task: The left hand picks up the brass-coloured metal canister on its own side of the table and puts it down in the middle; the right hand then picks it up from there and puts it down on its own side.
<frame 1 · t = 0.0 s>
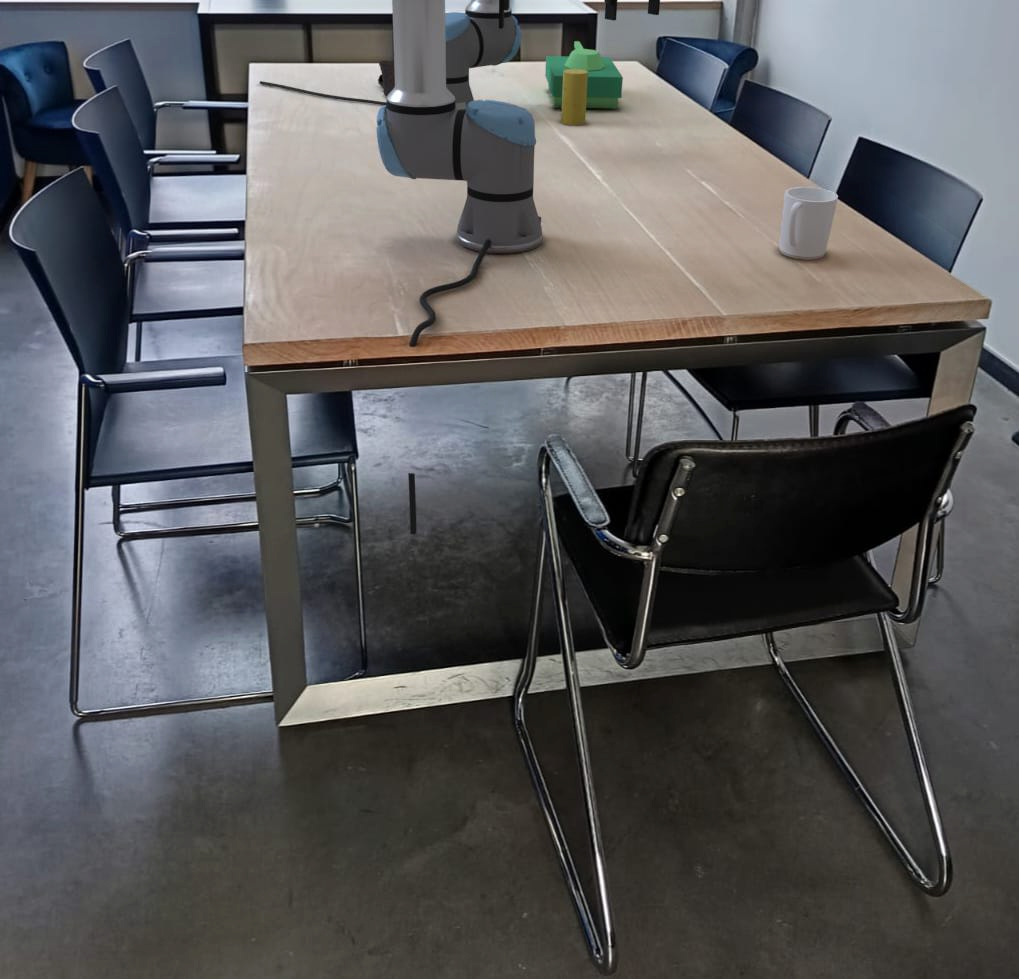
left hand: (632, 17, 239), 28 cm above the table, tool pointing down, fingers open, 13 cm apart
right hand: (468, 26, 224), 28 cm above the table, tool pointing down, fingers open, 13 cm apart
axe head: (403, 91, 300), on the table
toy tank: (579, 97, 299), on the table
mug: (798, 254, 193), on the table
canister: (573, 122, 273), on the table
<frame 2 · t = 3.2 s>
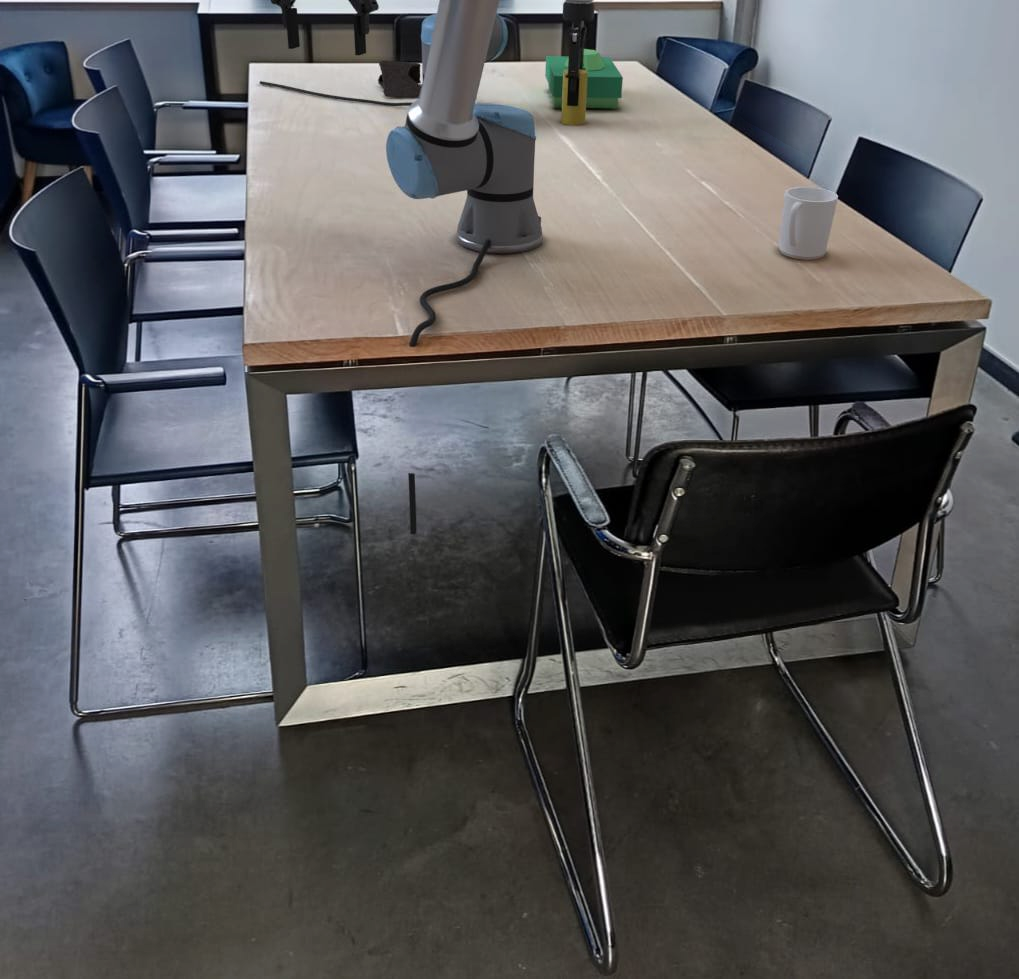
left hand: (574, 102, 271), 5 cm above the table, tool pointing down, fingers closed on canister, 6 cm apart
right hand: (327, 51, 197), 28 cm above the table, tool pointing down, fingers open, 13 cm apart
canister: (573, 122, 273), on the table, touching left hand
everything else where it was.
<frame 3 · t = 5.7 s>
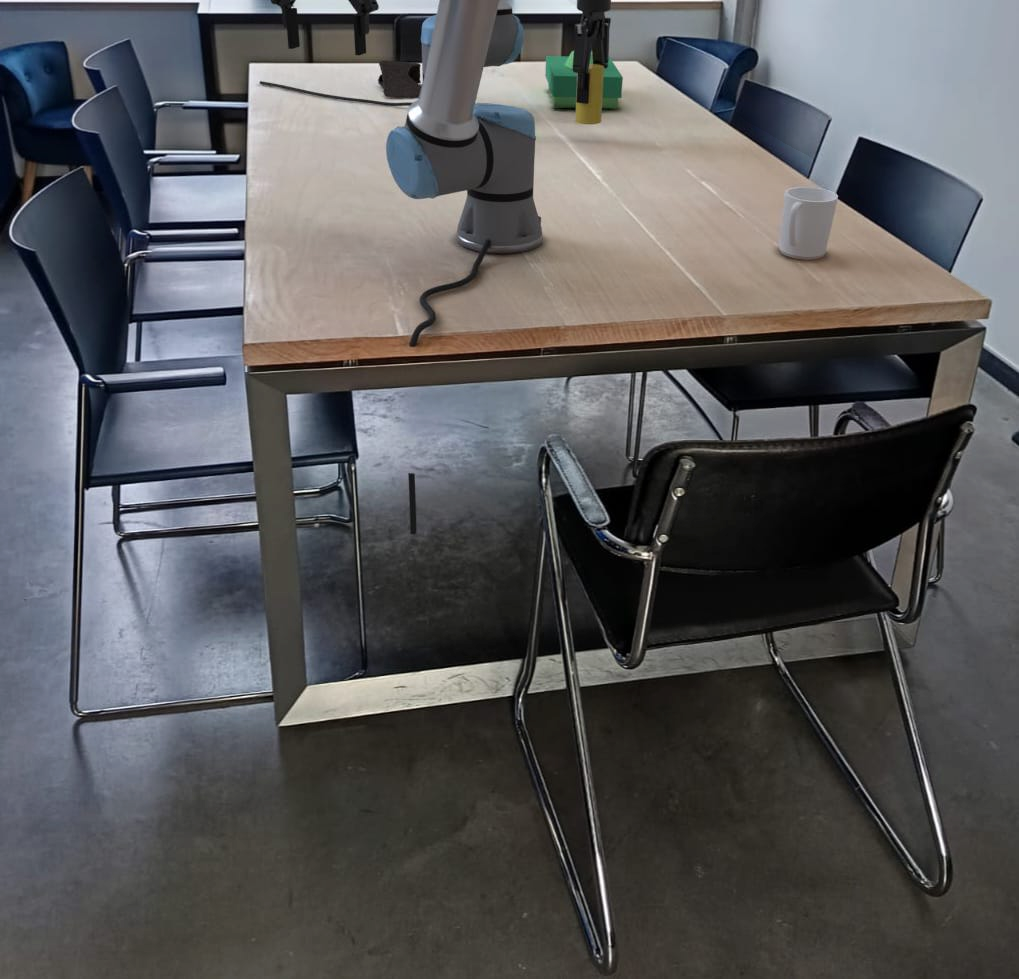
left hand: (589, 100, 252), 9 cm above the table, tool pointing down, fingers closed on canister, 6 cm apart
right hand: (327, 51, 197), 28 cm above the table, tool pointing down, fingers open, 13 cm apart
canister: (588, 121, 255), point 5 cm above the table, touching left hand
everything else where it was.
when the left hand's fingers open (6 cm above the table, at t = 8.0 s): canister drops 1 cm, on the table.
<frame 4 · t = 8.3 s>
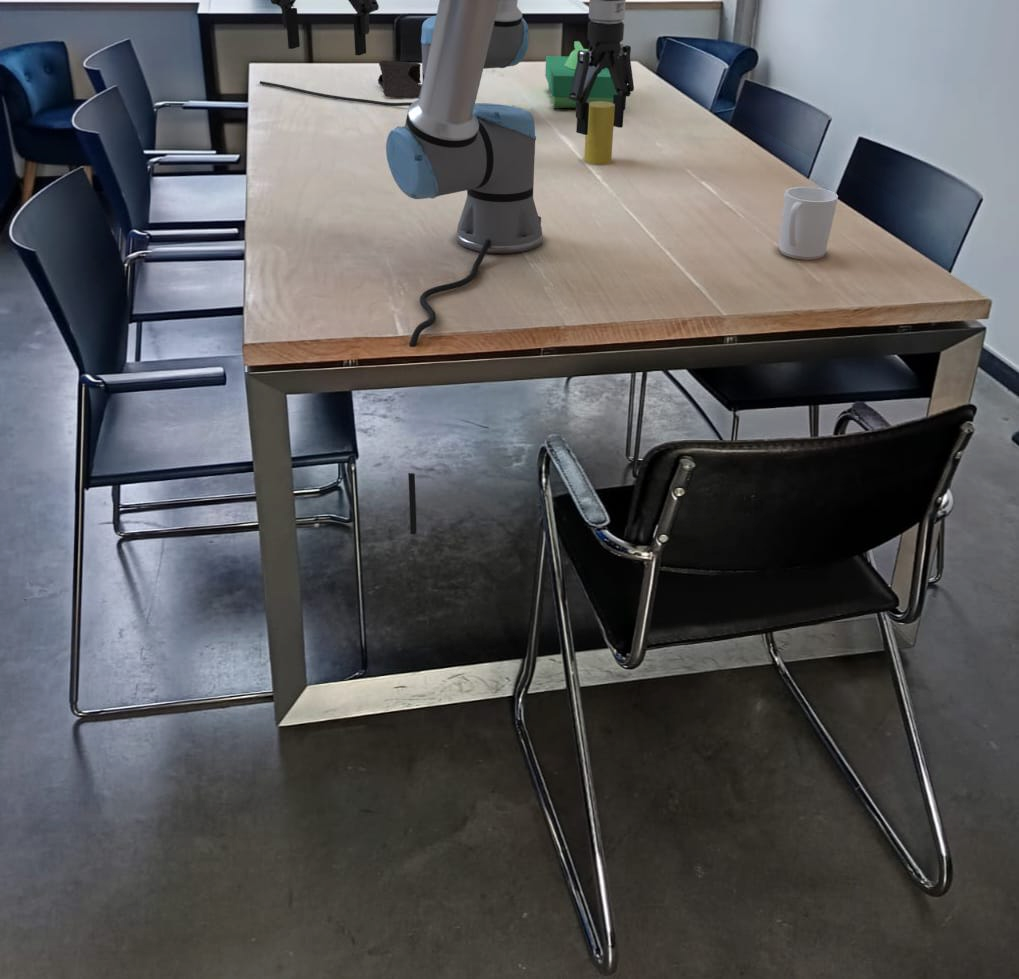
left hand: (599, 129, 239), 7 cm above the table, tool pointing down, fingers open, 10 cm apart
right hand: (327, 51, 197), 28 cm above the table, tool pointing down, fingers open, 13 cm apart
canister: (597, 161, 243), on the table
everything else where it was.
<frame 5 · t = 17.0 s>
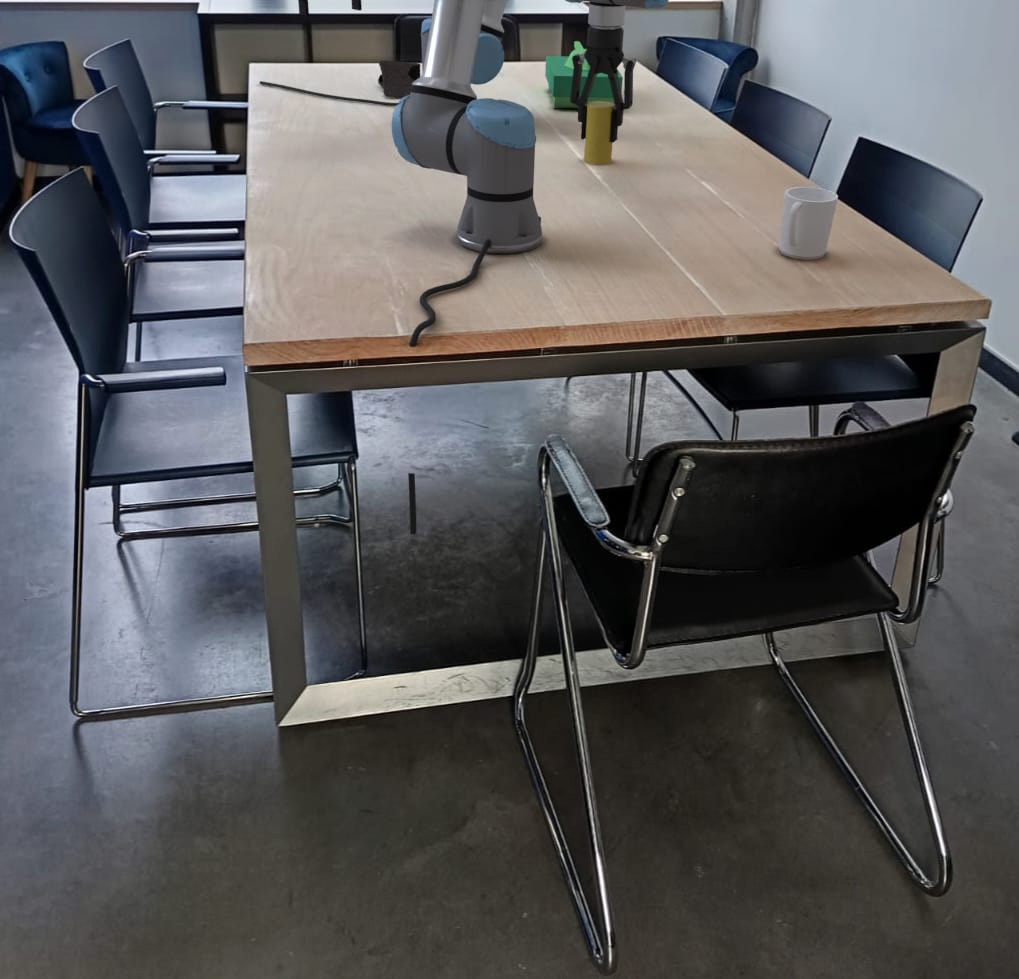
left hand: (330, 12, 239), 28 cm above the table, tool pointing down, fingers open, 13 cm apart
right hand: (598, 139, 240), 5 cm above the table, tool pointing down, fingers closed on canister, 6 cm apart
canister: (597, 160, 243), on the table, touching right hand
everything else where it was.
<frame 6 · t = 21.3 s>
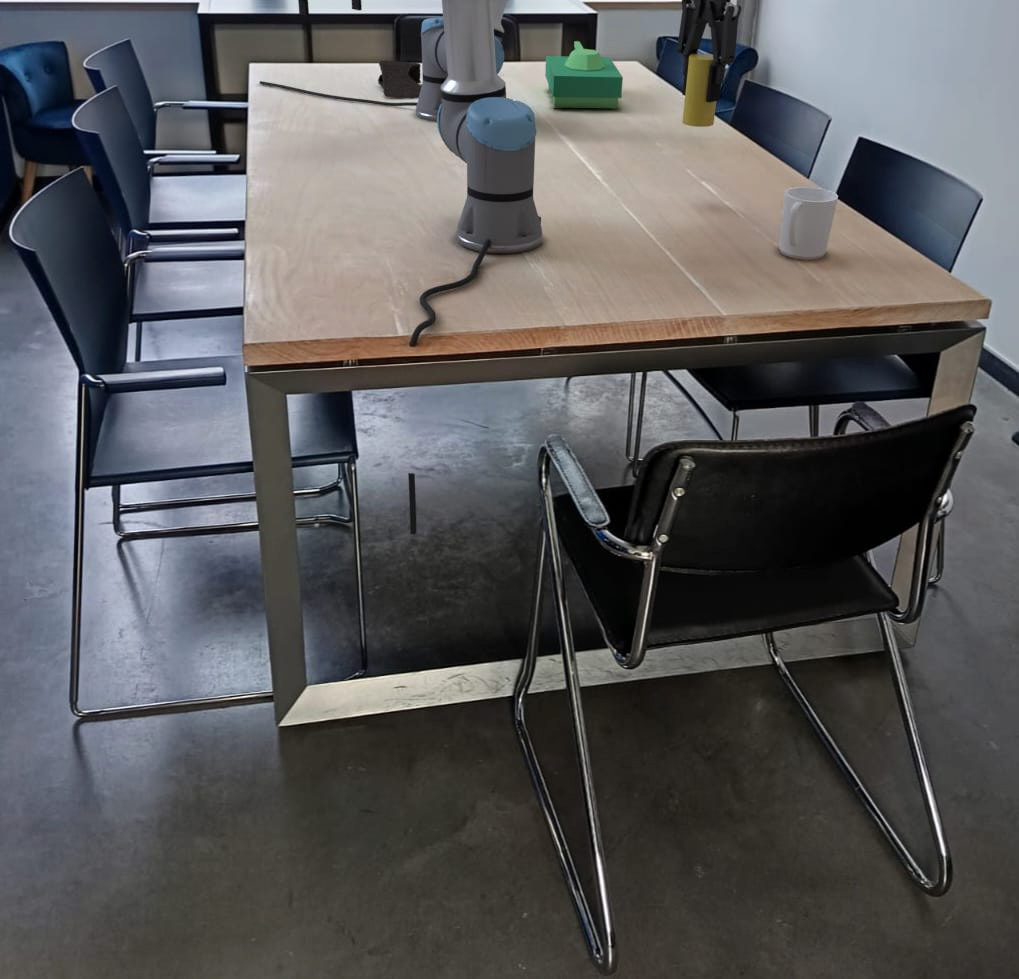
left hand: (330, 12, 239), 28 cm above the table, tool pointing down, fingers open, 13 cm apart
right hand: (700, 97, 210), 20 cm above the table, tool pointing down, fingers closed on canister, 6 cm apart
canister: (697, 123, 212), point 15 cm above the table, touching right hand
everything else where it was.
when the right hand's fingers open (6 cm above the table, at t = 25.7 s): canister drops 1 cm, on the table.
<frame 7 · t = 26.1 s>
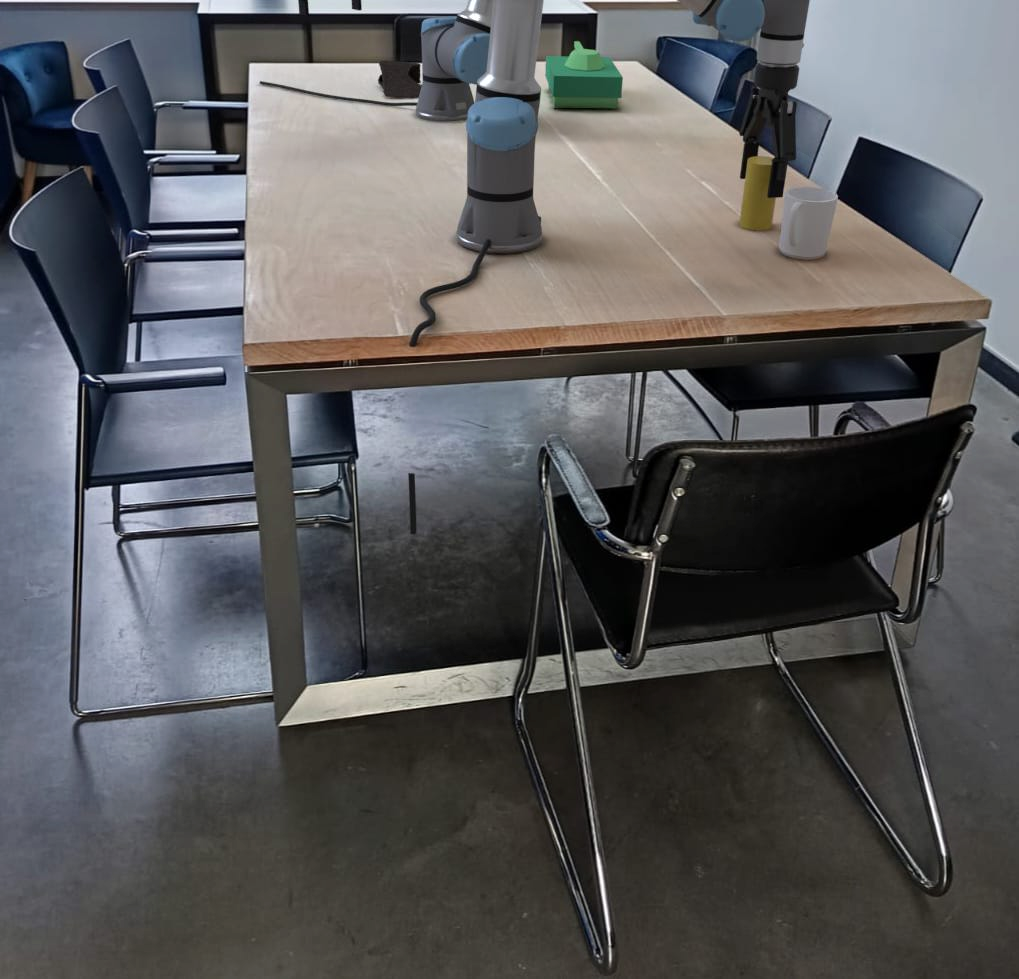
left hand: (330, 12, 239), 28 cm above the table, tool pointing down, fingers open, 13 cm apart
right hand: (760, 187, 202), 7 cm above the table, tool pointing down, fingers open, 11 cm apart
canister: (755, 225, 206), on the table
everything else where it was.
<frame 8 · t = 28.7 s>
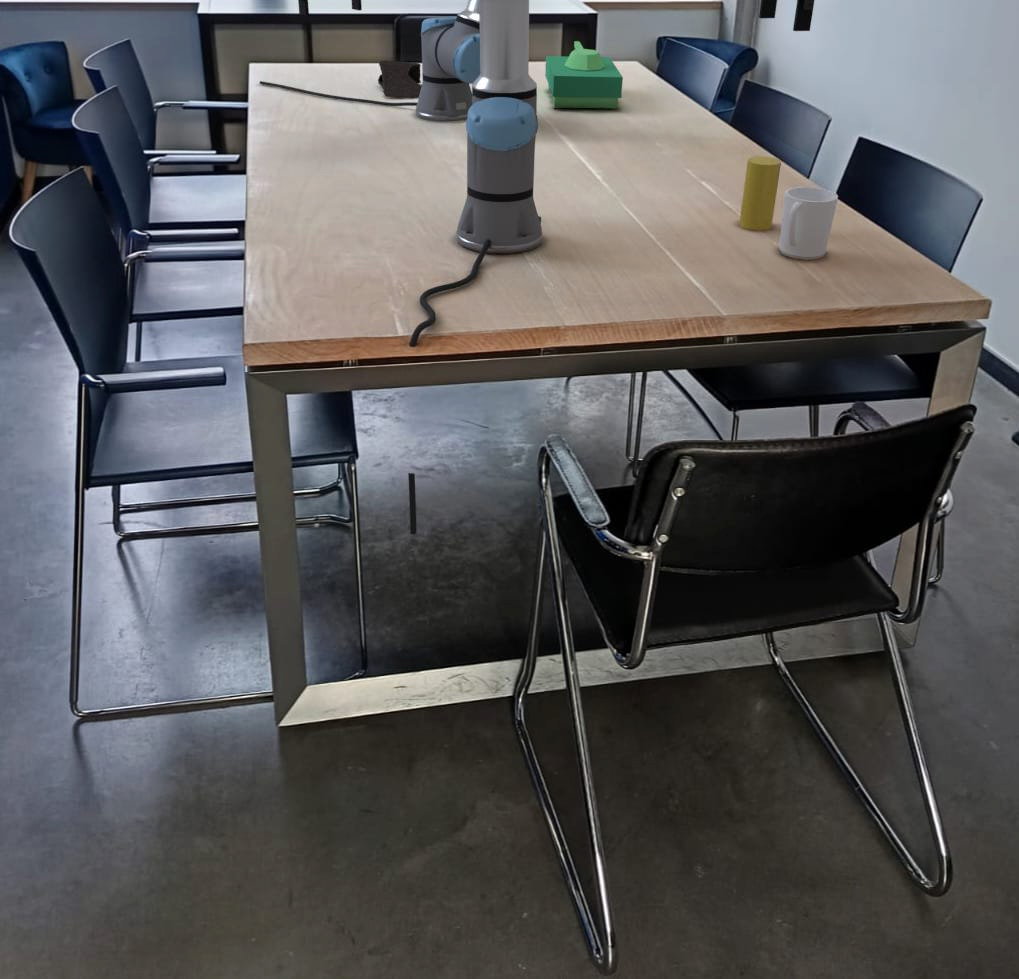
left hand: (330, 12, 239), 28 cm above the table, tool pointing down, fingers open, 13 cm apart
right hand: (783, 24, 188), 35 cm above the table, tool pointing down, fingers open, 13 cm apart
nothing on the table moved.
at the end: canister inside the target area (0.0 cm from its centre), on the table; canister tilted 0°; the two hands never held the canister at the same time; the left hand is holding nothing; the right hand is holding nothing; canister at rest at the end (0.0 cm/s) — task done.
